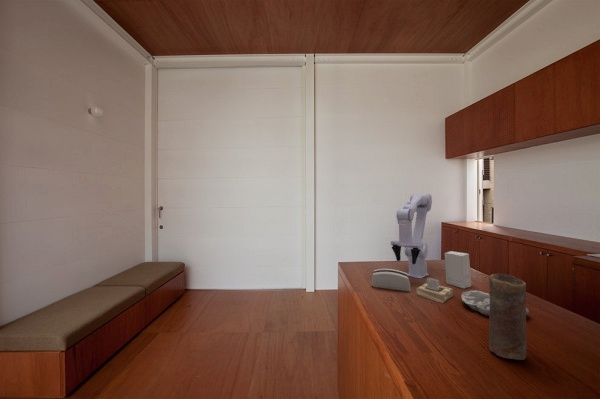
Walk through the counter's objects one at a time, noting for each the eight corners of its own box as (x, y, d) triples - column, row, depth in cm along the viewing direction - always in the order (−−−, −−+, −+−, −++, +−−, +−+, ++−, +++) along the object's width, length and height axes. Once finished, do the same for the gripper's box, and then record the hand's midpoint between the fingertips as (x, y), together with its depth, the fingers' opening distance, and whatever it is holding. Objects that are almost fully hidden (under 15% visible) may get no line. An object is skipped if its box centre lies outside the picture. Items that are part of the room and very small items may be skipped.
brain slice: (447, 303, 94) (447, 295, 94) (477, 296, 100) (477, 288, 100) (505, 328, 75) (505, 318, 75) (538, 317, 81) (538, 308, 81)
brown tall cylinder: (518, 348, 65) (516, 274, 65) (534, 367, 58) (532, 283, 58) (484, 343, 68) (482, 272, 67) (496, 360, 61) (494, 281, 60)
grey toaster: (411, 287, 110) (410, 269, 107) (411, 294, 106) (410, 275, 103) (373, 282, 117) (371, 265, 114) (371, 289, 113) (369, 271, 110)
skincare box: (471, 286, 109) (470, 253, 109) (463, 289, 106) (462, 255, 106) (452, 281, 116) (452, 250, 116) (444, 283, 114) (444, 251, 114)
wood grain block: (437, 297, 97) (437, 281, 97) (427, 294, 101) (426, 278, 100) (441, 294, 100) (441, 278, 100) (431, 291, 103) (431, 276, 103)
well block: (427, 289, 107) (427, 282, 107) (452, 296, 100) (452, 288, 100) (416, 295, 101) (416, 288, 101) (442, 303, 93) (442, 295, 93)
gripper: (387, 233, 119) (387, 261, 119) (416, 236, 107) (417, 267, 108) (394, 231, 123) (395, 258, 123) (424, 234, 112) (424, 263, 112)
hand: (406, 262), depth 116 cm, fingers open, 7 cm apart
